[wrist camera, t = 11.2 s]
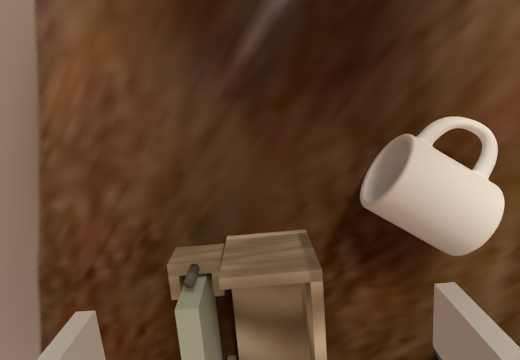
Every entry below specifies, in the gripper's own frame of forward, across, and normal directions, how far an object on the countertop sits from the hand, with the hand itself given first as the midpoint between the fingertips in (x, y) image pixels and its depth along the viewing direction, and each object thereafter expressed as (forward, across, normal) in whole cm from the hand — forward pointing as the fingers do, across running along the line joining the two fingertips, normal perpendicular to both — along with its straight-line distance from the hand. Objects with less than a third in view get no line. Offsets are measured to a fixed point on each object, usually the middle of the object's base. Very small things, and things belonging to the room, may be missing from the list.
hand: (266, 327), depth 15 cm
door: (+25, -7, -16) cm, 30 cm away
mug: (+26, +17, -1) cm, 31 cm away
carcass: (+25, -3, -16) cm, 30 cm away
